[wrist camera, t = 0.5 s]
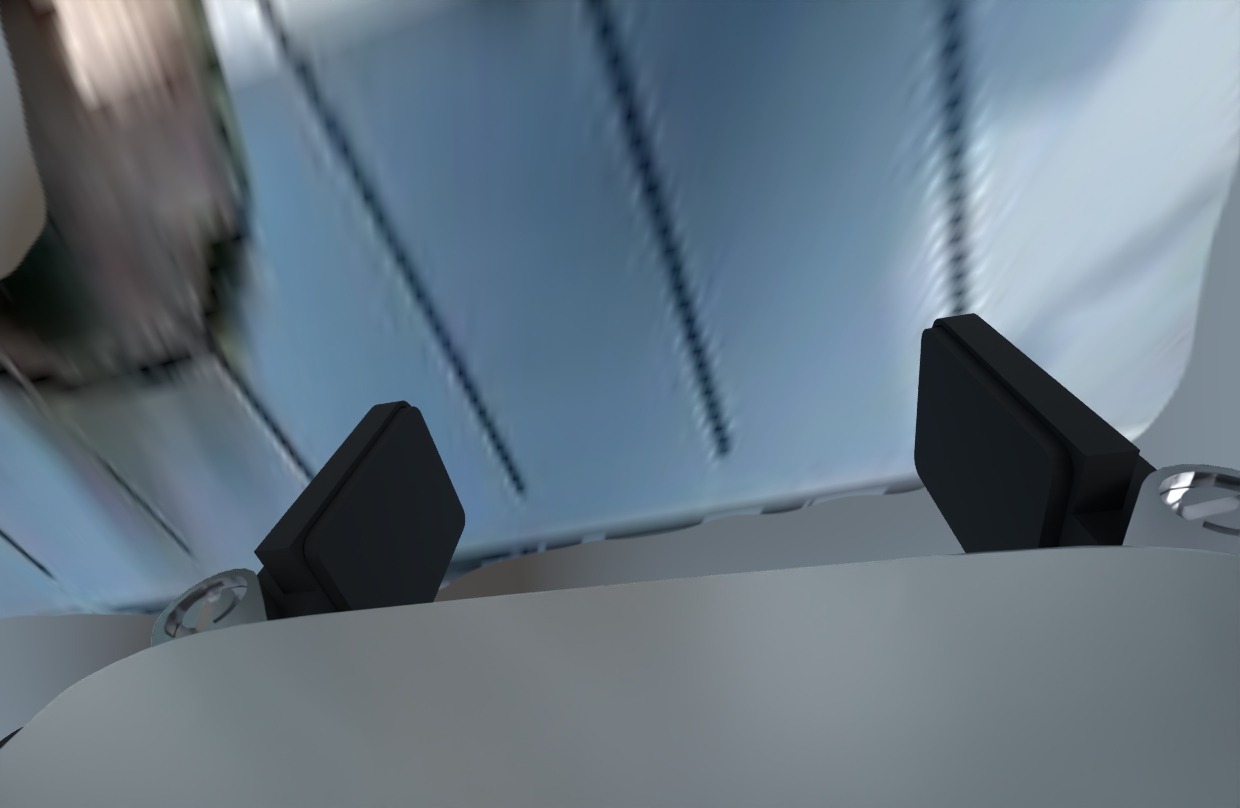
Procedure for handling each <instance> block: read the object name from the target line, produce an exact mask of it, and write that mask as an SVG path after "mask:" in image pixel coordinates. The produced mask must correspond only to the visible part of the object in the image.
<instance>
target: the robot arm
mask: <svg viewBox="0 0 1240 808" xmlns="http://www.w3.org/2000/svg"><path fill="white" fill-rule="evenodd" d="M1139 452H1140V450H1139V449H1138V448H1137V447H1136V446H1135V445H1133V444H1132V443H1131V442H1130V441H1129V440H1127V439H1126V438H1125V437H1124V436H1123V435H1121V434H1120V433H1119V432H1118V431H1117V430H1115V429H1114V428H1113V427H1112V426H1110V425H1109V424H1108V423H1107V422H1106V421H1104V420H1103V419H1102V418H1101V417H1100V416H1098V415H1097V414H1096V413H1095V412H1094V411H1092V410H1091V409H1090V408H1089V407H1088V406H1086V405H1085V404H1084V403H1083V402H1082V401H1080V400H1079V399H1078V398H1077V397H1076V396H1074V395H1073V394H1072V393H1071V392H1069V391H1068V390H1067V389H1066V388H1065V387H1063V386H1062V385H1061V384H1060V383H1059V382H1057V381H1056V380H1055V379H1054V378H1053V377H1051V376H1050V375H1049V374H1048V373H1047V372H1045V371H1044V370H1043V369H1042V368H1041V367H1039V366H1038V365H1037V364H1036V363H1035V362H1033V361H1032V360H1031V359H1030V358H1028V357H1027V356H1026V355H1025V354H1024V353H1022V352H1021V351H1020V350H1019V349H1018V348H1016V347H1015V346H1014V345H1013V344H1012V343H1010V342H1009V341H1008V340H1007V339H1006V338H1004V337H1003V336H1002V335H1001V334H1000V333H998V332H997V331H996V330H995V329H994V328H992V327H991V326H990V325H989V324H987V323H986V322H985V321H984V320H983V319H981V318H980V317H979V316H978V315H976V314H974V313H972V314H965V315H959V316H952V317H946V318H939V319H936V320H935V321H934V324H933V326H932V328H929V329H925V330H924V331H923V333H922V339H921V354H920V370H919V386H918V402H917V418H916V435H915V451H914V460H915V466H916V470H917V473H918V475H919V477H920V479H921V480H922V482H923V484H924V485H925V487H926V489H927V490H928V492H929V493H930V495H931V497H932V498H933V500H934V502H935V503H936V505H937V507H938V508H939V510H940V511H941V513H942V515H943V516H944V518H945V520H946V521H947V523H948V525H949V526H950V528H951V529H952V531H953V533H954V534H955V536H956V538H957V539H958V541H959V543H960V544H961V546H962V548H963V549H964V551H965V553H962V554H950V555H939V556H927V557H917V558H905V559H894V560H882V561H871V562H860V563H848V564H836V565H826V566H813V567H802V568H790V569H780V570H768V571H757V572H745V573H735V574H724V575H713V576H702V577H690V578H679V579H668V580H657V581H646V582H636V583H625V584H615V585H604V586H593V587H583V588H573V589H563V590H552V591H542V592H532V593H522V594H511V595H501V596H491V597H481V598H471V599H462V600H452V601H443V602H433V601H434V599H435V596H436V594H437V592H438V589H439V587H440V584H441V582H442V580H443V577H444V575H445V572H446V570H447V568H448V565H449V563H450V560H451V558H452V556H453V553H454V551H455V548H456V546H457V544H458V541H459V539H460V537H461V534H462V532H463V529H464V526H465V514H464V510H463V507H462V505H461V503H460V501H459V498H458V496H457V494H456V492H455V489H454V487H453V485H452V482H451V480H450V478H449V476H448V473H447V471H446V469H445V466H444V464H443V462H442V460H441V457H440V455H439V453H438V450H437V448H436V446H435V444H434V441H433V439H432V437H431V435H430V432H429V430H428V428H427V425H426V423H425V421H424V419H423V416H422V414H421V412H420V410H419V409H418V408H417V407H415V406H413V407H411V406H410V405H409V403H408V402H406V401H398V402H391V403H385V404H378V405H375V406H373V407H372V408H371V409H370V411H369V412H368V413H367V414H366V416H365V417H364V418H363V419H362V420H361V422H360V423H359V424H358V425H357V427H356V428H355V429H354V430H353V431H352V433H351V434H350V435H349V436H348V438H347V439H346V440H345V441H344V442H343V444H342V445H341V446H340V447H339V449H338V450H337V451H336V452H335V453H334V455H333V456H332V457H331V458H330V459H329V461H328V462H327V463H326V464H325V466H324V467H323V468H322V469H321V470H320V472H319V473H318V474H317V475H316V477H315V478H314V479H313V480H312V481H311V483H310V484H309V485H308V486H307V488H306V489H305V490H304V491H303V492H302V494H301V495H300V496H299V497H298V499H297V500H296V501H295V502H294V503H293V505H292V506H291V507H290V508H289V510H288V511H287V512H286V513H285V514H284V516H283V517H282V518H281V519H280V521H279V522H278V523H277V524H276V525H275V527H274V528H273V529H272V530H271V532H270V533H269V534H268V535H267V536H266V538H265V539H264V540H263V541H262V543H261V544H260V545H259V546H258V547H257V549H256V550H255V551H254V553H255V554H256V555H257V557H258V558H259V560H260V561H261V563H262V564H263V565H264V567H263V568H262V569H261V571H260V572H259V573H258V575H256V574H255V572H254V571H252V570H249V569H246V568H243V569H232V570H228V571H224V572H220V573H218V574H216V575H213V576H211V577H209V578H207V579H204V580H203V581H201V582H199V583H198V584H196V585H194V586H193V587H191V588H189V589H188V590H187V591H185V592H184V593H183V594H182V595H180V596H179V597H178V598H176V599H175V600H174V601H173V602H172V603H171V604H170V605H169V606H168V607H167V608H166V609H165V610H164V611H163V612H162V614H161V615H160V617H159V618H158V620H157V622H156V623H155V625H154V629H153V632H152V644H151V648H148V649H146V650H143V651H141V652H139V653H136V654H134V655H132V656H129V657H127V658H124V659H122V660H120V661H117V662H115V663H113V664H111V665H109V666H107V667H105V668H103V669H102V670H100V671H97V672H95V673H94V674H92V675H90V676H88V677H86V678H84V679H83V680H80V681H79V682H77V683H75V684H74V685H72V686H71V687H69V688H68V689H67V690H65V691H64V692H63V693H61V694H60V695H59V696H57V697H56V698H55V699H54V700H53V701H52V702H50V703H49V704H48V705H47V706H46V707H45V708H44V709H42V710H41V711H40V712H39V713H38V714H37V715H36V716H35V717H34V718H33V719H32V720H30V721H29V722H28V723H27V724H26V725H25V726H24V727H22V728H20V729H18V730H16V731H15V732H13V733H11V734H10V735H8V736H7V737H5V738H4V739H3V740H1V741H0V808H1240V471H1239V470H1236V469H1232V468H1225V467H1219V466H1212V465H1204V464H1181V465H1175V466H1169V467H1163V468H1161V469H1159V470H1156V469H1155V468H1154V467H1153V466H1152V465H1150V464H1149V463H1148V462H1147V461H1146V460H1145V459H1143V458H1142V457H1141V456H1140V455H1139Z"/></svg>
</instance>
